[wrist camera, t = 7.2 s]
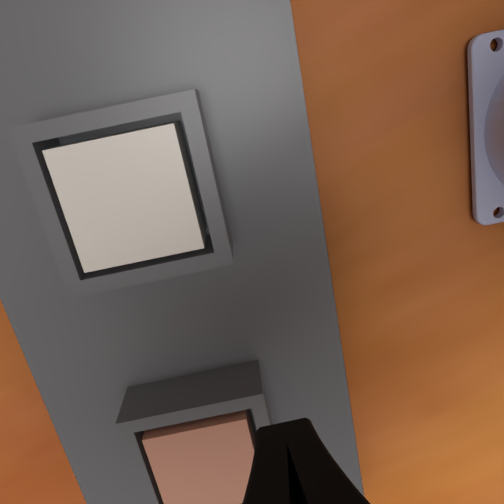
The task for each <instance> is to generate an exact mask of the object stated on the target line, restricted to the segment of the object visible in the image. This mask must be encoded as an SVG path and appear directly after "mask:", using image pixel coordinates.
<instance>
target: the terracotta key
mask: <svg viewBox="0 0 504 504" xmlns="http://www.w3.org/2000/svg"><path fill="white" fill-rule="evenodd" d="M142 442H143V445H144V448H145V451H146V454H147V457H148V459H149V462H150V465H151V468H152V471H153V474H154V477H155V480H156V483H157V485H158V488H159V491H160V494H161V497H162V500H163V503H164V504H241V503H243V500H244V496H245V492H246V488H247V484H248V480H249V476H250V472H251V467H252V462H253V456H254V450H255V442H256V437H255V433H254V429H253V425H252V421H251V417H250V413H249V409H247V410H242V411H237V412H232V413H227V414H222V415H218V416H213V417H208V418H203V419H198V420H193V421H188V422H183V423H179V424H174V425H169V426H164V427H159V428H154V429H149V430H144V434H143V438H142Z"/></svg>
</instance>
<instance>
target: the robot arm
mask: <svg viewBox="0 0 504 504" xmlns="http://www.w3.org/2000/svg"><path fill="white" fill-rule="evenodd" d="M493 39H495V40H496V41H497V48H496V49H495V51H492V50H491V48H490V43H491V41H492V40H493ZM467 56H468V85H469V115H470V144H471V174H472V204H473V218H474V220H475V221H476V222H478V223H480V224H482V225H490V224H495V223H500V222H504V29H503V30H498V31H493V32H488V33H484V34H479V35H477V36H475V37H473V38H472V39H471V40H470V42H469V44H468V49H467ZM497 207H499V209H500V210H499V213H498V214H497V215H495V216H493V212H494V210H495V209H496V208H497ZM242 504H370V503H369V502H368V501H367V500H366V498H365V497H364V496H363V495H362V494H361V493H360V492H359V490H358V489H357V488H356V487H355V486H354V484H353V483H352V482H351V481H350V480H349V478H348V477H347V476H346V474H345V473H344V472H343V470H342V469H341V468H340V467H339V465H338V464H337V463H336V461H335V460H334V459H333V457H332V456H331V454H330V453H329V451H328V450H327V448H326V447H325V445H324V444H323V442H322V441H321V439H320V438H319V436H318V434H317V432H316V430H315V429H314V427H313V425H312V422H311V420H309V419H308V418H306V417H305V418H301V419H296V420H291V421H287V422H282V423H277V424H273V425H268V426H263V427H259V429H258V430H257V431H256V442H255V450H254V456H253V462H252V467H251V472H250V476H249V480H248V484H247V488H246V492H245V496H244V500H243V503H242Z"/></svg>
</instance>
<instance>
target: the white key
mask: <svg viewBox="0 0 504 504" xmlns="http://www.w3.org/2000/svg"><path fill="white" fill-rule="evenodd" d="M42 152H43V155H44V158H45V161H46V164H47V167H48V169H49V172H50V175H51V178H52V181H53V184H54V187H55V190H56V193H57V195H58V198H59V201H60V204H61V207H62V210H63V213H64V216H65V219H66V221H67V224H68V227H69V230H70V233H71V236H72V239H73V242H74V245H75V247H76V250H77V253H78V256H79V259H80V262H81V265H82V268H83V271H84V273H87V272H92V271H96V270H101V269H106V268H111V267H116V266H121V265H125V264H130V263H135V262H140V261H145V260H150V259H154V258H159V257H164V256H169V255H174V254H179V253H183V252H188V251H193V250H198V249H203V248H204V247H205V238H206V230H205V225H204V221H203V217H202V213H201V209H200V205H199V200H198V196H197V192H196V188H195V184H194V180H193V176H192V171H191V167H190V163H189V159H188V155H187V151H186V147H185V142H184V138H183V134H182V130H181V126H180V122H179V120H177V121H172V122H168V123H163V124H158V125H153V126H148V127H144V128H139V129H134V130H129V131H124V132H120V133H115V134H110V135H105V136H100V137H96V138H91V139H86V140H81V141H76V142H72V143H67V144H62V145H59V146H56V147H52V148H49V149H46V150H43V151H42Z"/></svg>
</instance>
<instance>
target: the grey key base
mask: <svg viewBox="0 0 504 504" xmlns="http://www.w3.org/2000/svg"><path fill="white" fill-rule="evenodd" d="M177 120H179V122H180V126H181V130H182V134H183V138H184V142H185V147H186V151H187V155H188V159H189V163H190V167H191V171H192V176H193V180H194V184H195V188H196V192H197V196H198V200H199V205H200V209H201V213H202V217H203V221H204V225H205V230H206V238H205V247H204V248H203V249H198V250H193V251H188V252H183V253H179V254H174V255H169V256H164V257H159V258H154V259H150V260H145V261H140V262H135V263H130V264H125V265H121V266H116V267H111V268H106V269H101V270H96V271H92V272H87V273H84V271H83V268H82V265H81V262H80V259H79V256H78V253H77V250H76V247H75V245H74V242H73V239H72V236H71V233H70V230H69V227H68V224H67V221H66V219H65V216H64V213H63V210H62V207H61V204H60V201H59V198H58V195H57V193H56V190H55V187H54V184H53V181H52V178H51V175H50V172H49V169H48V167H47V164H46V161H45V158H44V155H43V152H42V151H43V150H46V149H49V148H52V147H56V146H59V145H62V144H67V143H72V142H76V141H81V140H86V139H91V138H96V137H100V136H105V135H110V134H115V133H120V132H124V131H129V130H134V129H139V128H144V127H148V126H153V125H158V124H163V123H168V122H172V121H177ZM0 299H1V301H2V304H3V306H4V308H5V311H6V313H7V316H8V318H9V320H10V323H11V325H12V327H13V330H14V332H15V334H16V337H17V339H18V342H19V344H20V346H21V349H22V351H23V353H24V356H25V358H26V361H27V363H28V365H29V368H30V370H31V372H32V375H33V377H34V380H35V382H36V384H37V387H38V389H39V391H40V394H41V396H42V398H43V401H44V403H45V406H46V408H47V410H48V413H49V415H50V417H51V420H52V422H53V425H54V427H55V429H56V432H57V434H58V436H59V439H60V441H61V443H62V446H63V448H64V451H65V453H66V455H67V458H68V460H69V462H70V465H71V467H72V470H73V472H74V474H75V477H76V479H77V481H78V484H79V486H80V489H81V491H82V493H83V496H84V498H85V500H86V503H87V504H164V503H163V500H162V497H161V494H160V491H159V488H158V485H157V483H156V480H155V477H154V474H153V471H152V468H151V465H150V462H149V459H148V457H147V454H146V451H145V448H144V445H143V442H142V438H143V434H144V430H149V429H154V428H159V427H164V426H169V425H174V424H179V423H183V422H188V421H193V420H198V419H203V418H208V417H213V416H218V415H222V414H227V413H232V412H237V411H242V410H247V409H249V413H250V417H251V421H252V425H253V429H254V433H255V437H256V431H257V430H258V429H259V427H263V426H268V425H273V424H277V423H282V422H287V421H291V420H296V419H301V418H305V417H306V418H308V419H309V420H311V422H312V425H313V427H314V429H315V430H316V432H317V434H318V436H319V438H320V439H321V441H322V442H323V444H324V445H325V447H326V448H327V450H328V451H329V453H330V454H331V456H332V457H333V459H334V460H335V461H336V463H337V464H338V465H339V467H340V468H341V469H342V470H343V472H344V473H345V474H346V476H347V477H348V478H349V480H350V481H351V482H352V483H353V484H354V486H355V487H356V488H357V489H358V490H359V492H360V493H361V494H362V495H363V496H364V493H363V486H362V479H361V473H360V466H359V459H358V453H357V446H356V439H355V433H354V426H353V419H352V412H351V406H350V399H349V392H348V386H347V379H346V372H345V366H344V359H343V352H342V345H341V339H340V332H339V325H338V319H337V312H336V305H335V298H334V292H333V285H332V278H331V272H330V265H329V258H328V252H327V245H326V238H325V231H324V225H323V218H322V211H321V205H320V198H319V191H318V184H317V178H316V171H315V164H314V158H313V151H312V144H311V138H310V131H309V124H308V117H307V111H306V104H305V97H304V91H303V84H302V77H301V70H300V64H299V57H298V50H297V44H296V37H295V30H294V24H293V17H292V10H291V3H290V0H0ZM241 504H242V503H241Z"/></svg>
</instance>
